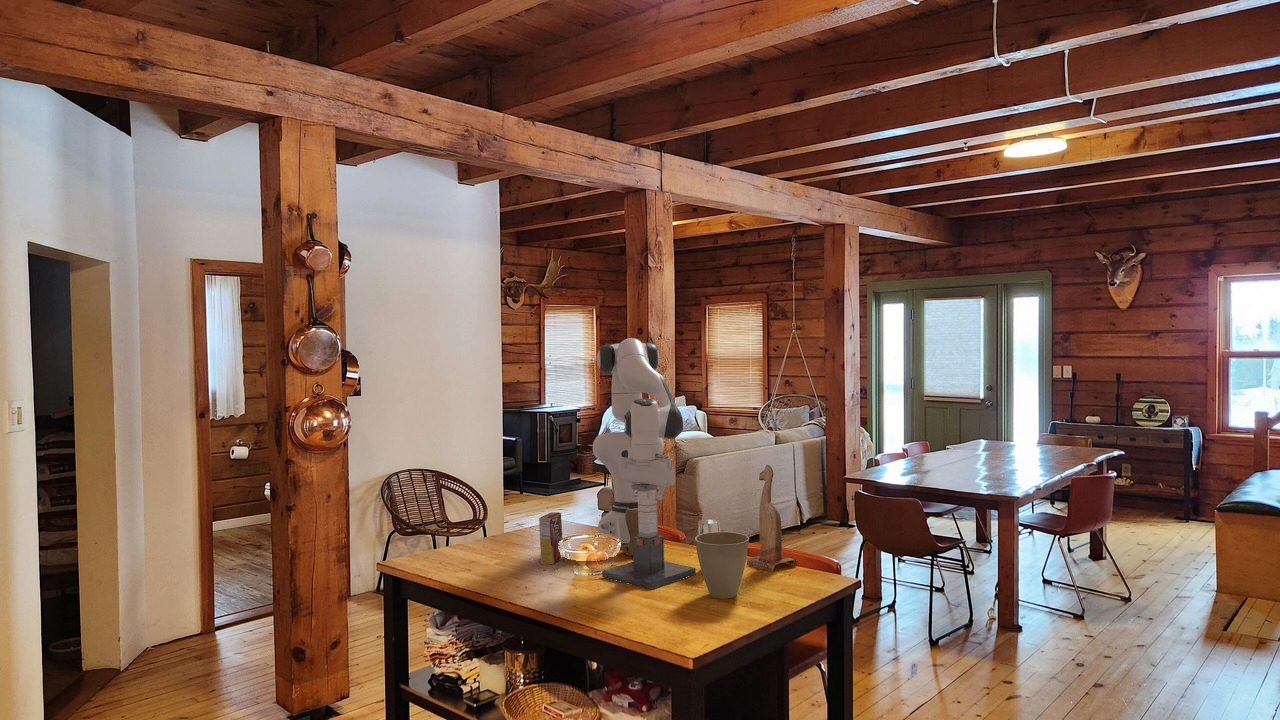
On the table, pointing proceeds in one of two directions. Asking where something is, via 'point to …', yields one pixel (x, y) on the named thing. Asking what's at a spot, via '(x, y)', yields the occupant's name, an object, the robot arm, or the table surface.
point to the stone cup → (631, 529)
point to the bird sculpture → (769, 529)
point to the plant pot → (722, 561)
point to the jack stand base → (648, 566)
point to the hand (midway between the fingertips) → (647, 498)
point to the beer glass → (708, 526)
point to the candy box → (550, 537)
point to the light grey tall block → (647, 510)
